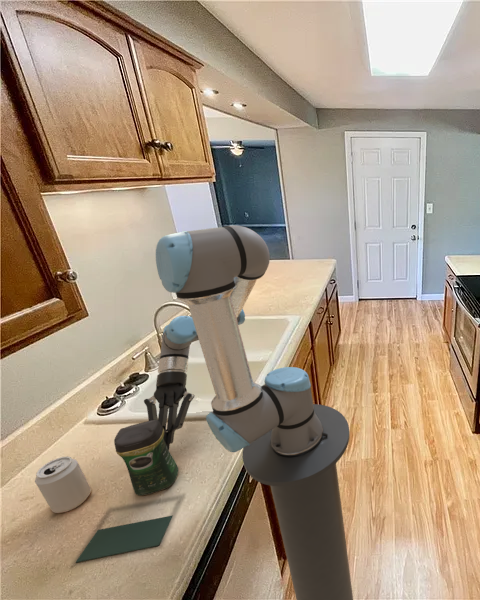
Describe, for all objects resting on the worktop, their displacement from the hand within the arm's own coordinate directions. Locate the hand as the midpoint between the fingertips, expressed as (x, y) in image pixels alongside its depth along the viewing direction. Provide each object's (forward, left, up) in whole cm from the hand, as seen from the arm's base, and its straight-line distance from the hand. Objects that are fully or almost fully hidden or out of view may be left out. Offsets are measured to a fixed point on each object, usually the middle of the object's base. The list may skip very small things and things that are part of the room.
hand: (163, 457), depth 92 cm
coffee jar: (0, +5, -4) cm, 6 cm away
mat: (0, +17, -4) cm, 18 cm away
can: (+19, +6, -4) cm, 20 cm away
